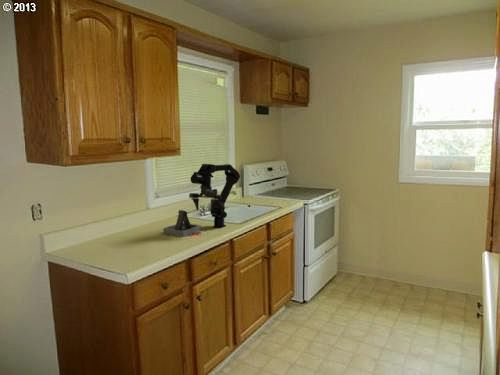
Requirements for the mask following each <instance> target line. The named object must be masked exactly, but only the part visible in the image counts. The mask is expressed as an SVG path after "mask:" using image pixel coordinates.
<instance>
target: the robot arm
mask: <svg viewBox="0 0 500 375" xmlns="http://www.w3.org/2000/svg"><path fill="white" fill-rule="evenodd" d="M221 171H222V172H223V171H224V175H225V183H224V186H223V188H222V189H221V190H222V191H221V192H220V194H218V189H217V188H212V185H211V184H212V183H211V182H212V178H214V175H213V174H214V173H215V172H221ZM240 179H241V175H240V173H239V171H238V170H237V169H236V168H234V166H233V165H232V164H230V163H225V164H212V163H202V164H201V166H200V168H198V171H193V174H192V175H191V176H190V182H191V183H192V184H194V185H195V184H196V185H200V186H199V188H200V193H197V192H196V193H195V192H190V193H189V195H188V198H190V199H191V200H192V201H193V204H194V206H195V209H196V211H199V202H200V198H204V199H209V198H210V207H209V208H210V209H209V211H210V215H211V218H214V220H213V224H214V225H212V228H218V229H219V228H220V229H221V228H224V227H226V226H227V224H225V219H226V218H227V215H228V213H227V212H226V211H225V210H226V206H225V204H226V202H227V200H228V197H229V195H230V193H231V191H232V190H233V187H234V185H236V184H237V183H238V182H239V180H240Z"/></svg>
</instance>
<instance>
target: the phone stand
mask: <svg viewBox="0 0 500 375" xmlns="http://www.w3.org/2000/svg"><path fill="white" fill-rule="evenodd" d="M190 222H191V221H190V219H189V218H188V212H187V211H185V210H183V209H179V210H178V216H177V220H176V226H175V230H180V231H185V230H188V229H191V228H192V227H191V224H192V223H190ZM183 223H184V225H185V228H182V226H183Z"/></svg>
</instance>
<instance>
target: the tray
mask: <svg viewBox="0 0 500 375" xmlns="http://www.w3.org/2000/svg"><path fill="white" fill-rule="evenodd" d="M190 224H191V227H192V228H191V229H188V230H185V231H180V230H175V226H176V224H173V225H169V226H166V227H163V228H162V230H163V234H167V235H173V236H178V237H186V236H190V235H193V234H195V233H198V232H200V231H202V225H199V224H194V223H190ZM182 228H185V225H184V222H183V226H182ZM194 232H195V233H194ZM192 233H193V234H192ZM189 234H190V235H189Z"/></svg>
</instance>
